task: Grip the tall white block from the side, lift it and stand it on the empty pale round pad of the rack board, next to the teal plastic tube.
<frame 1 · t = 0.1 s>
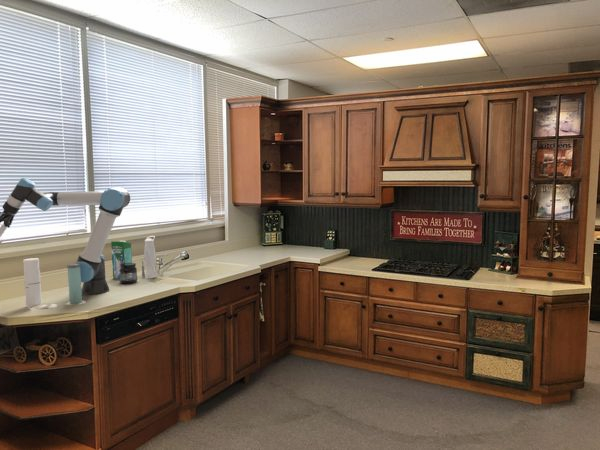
skyscraper: (150, 278, 328), on the countertop
teal tube: (76, 302, 258), point 1 cm above the countertop, touching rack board
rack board: (60, 307, 254), on the countertop
tall white block: (34, 306, 257), on the countertop
supplement container: (128, 282, 313), on the countertop
milk carton: (123, 277, 330), on the countertop
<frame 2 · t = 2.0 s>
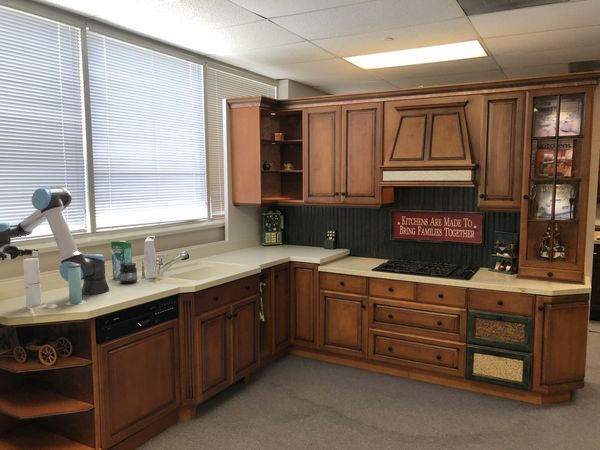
hand: (23, 255, 261), 26 cm above the countertop, tool horizontal, fingers open, 13 cm apart
nothing on the countertop moved.
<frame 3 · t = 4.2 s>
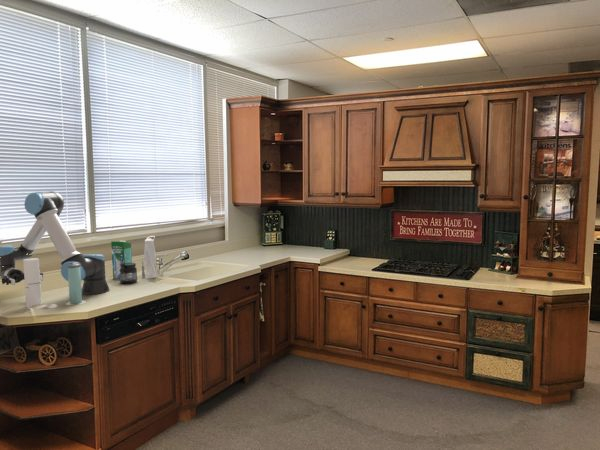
hand: (28, 280, 258), 13 cm above the countertop, tool horizontal, fingers open, 13 cm apart
nothing on the countertop moved.
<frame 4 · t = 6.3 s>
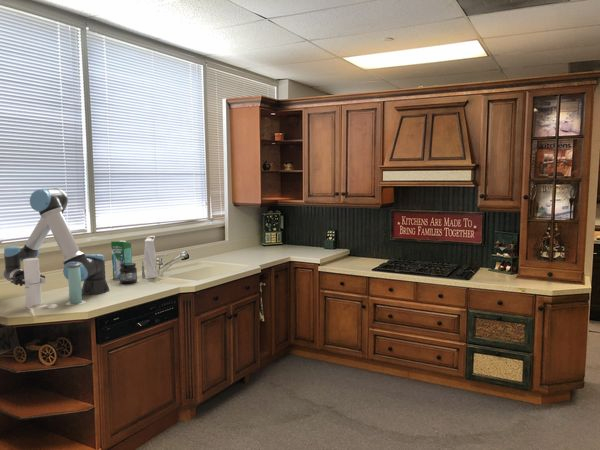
hand: (36, 282, 252), 14 cm above the countertop, tool horizontal, fingers closed on tall white block, 7 cm apart
tall white block: (34, 306, 257), on the countertop, touching gripper
everything else where it was.
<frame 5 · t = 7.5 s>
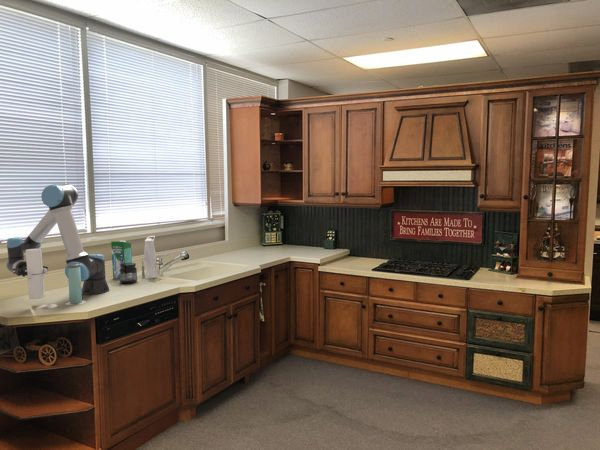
hand: (38, 272, 249), 19 cm above the countertop, tool horizontal, fingers closed on tall white block, 7 cm apart
tall white block: (37, 297, 254), point 5 cm above the countertop, touching gripper
everything else where it was.
when the fingers open (16 cm above the countertop, at t = 8.9 s): tall white block drops 1 cm, resting on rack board.
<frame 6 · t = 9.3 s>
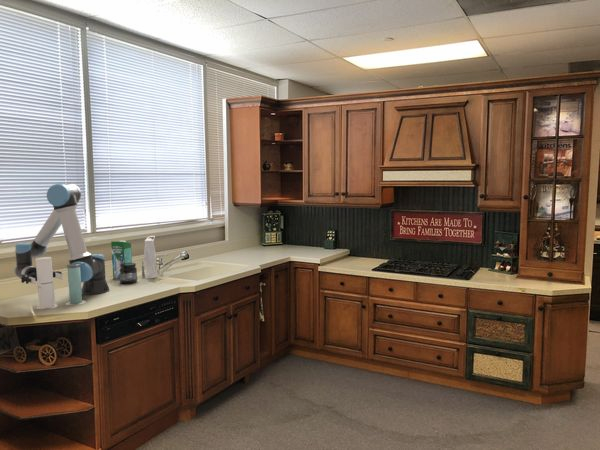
hand: (48, 279, 246), 16 cm above the countertop, tool horizontal, fingers open, 12 cm apart
tall white block: (47, 306, 250), point 1 cm above the countertop, touching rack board
everything else where it was.
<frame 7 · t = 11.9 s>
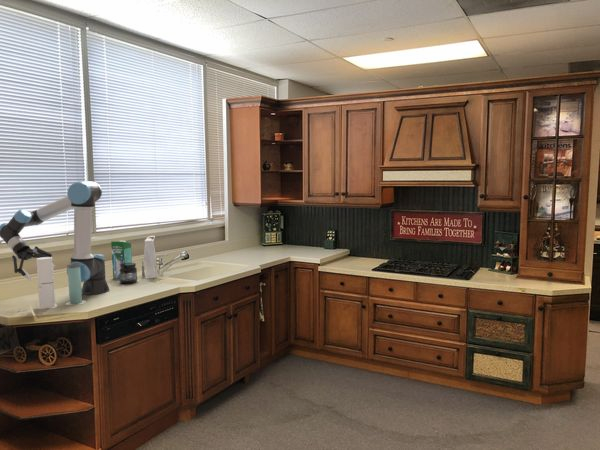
hand: (42, 273, 261), 16 cm above the countertop, tool tilted 50°, fingers open, 13 cm apart
nothing on the countertop moved.
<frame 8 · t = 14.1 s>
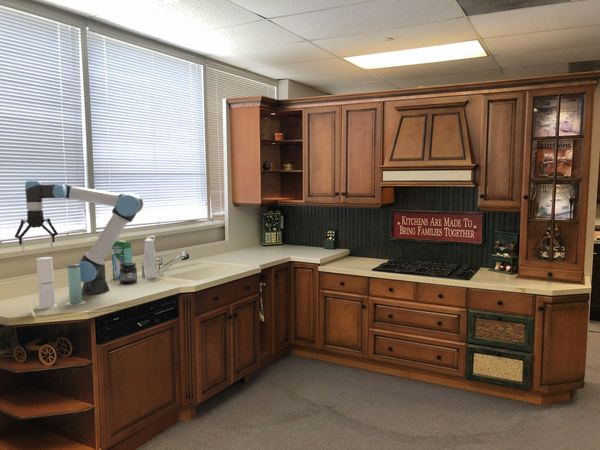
hand: (37, 249, 263), 29 cm above the countertop, tool pointing down, fingers open, 13 cm apart
nothing on the countertop moved.
at the end: tall white block inside the target area (0.1 cm from its centre), point 1.2 cm above the countertop; tall white block tilted 0°; the gripper is holding nothing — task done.
